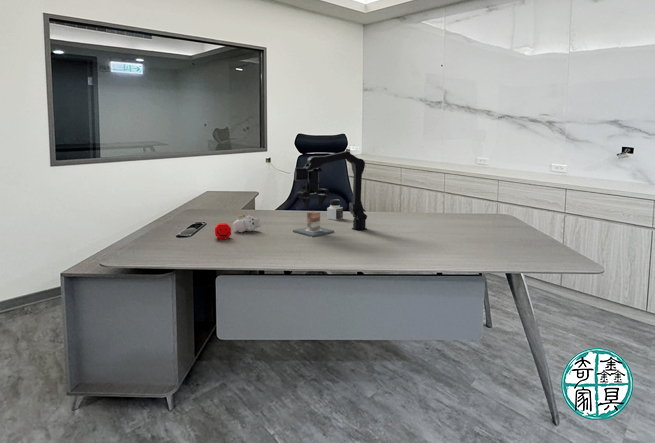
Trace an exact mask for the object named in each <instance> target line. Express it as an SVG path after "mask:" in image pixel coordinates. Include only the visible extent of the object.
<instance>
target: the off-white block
mask: <svg viewBox="0 0 655 443" xmlns="http://www.w3.org/2000/svg"><path fill="white" fill-rule="evenodd" d="M306 227H307V230H309V231H318V230H320V227H321V220H320V221H319V222H309V221H307V220H306Z"/></svg>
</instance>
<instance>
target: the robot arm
mask: <svg viewBox="0 0 655 443" xmlns="http://www.w3.org/2000/svg"><path fill="white" fill-rule="evenodd" d="M343 160H345V161H347V162H348V163H349V164H351V166H350V167H351V171H352V173H353V178H352V179H353V182H352V183H353V184H352V185H353V186H352V189H353V190H352V201H351V202H349V203H348V206H349V207H348V211H349V212H350V214H351V215H352V216H353V223H352V226H353V227H351V230H355V231H360V232H361V231H365V230H368V228H367V227H366V225H367V224H366V220H367V219H368V215H367V214H366V213H365V212H364V206H363V203H362V181H363V179H362V178H363V173H364V171H365V166H366V161H365V160H364V159H362V158H358V157H356V156H355V155H353V154H352V153H351V152H350V151H346V150H343V151H341V152H336V153H333V154H327V155H313V156H309V157H308V158H307V160H306V164H305V165H304V166H303V167H295V168H294V172H293V178H294V179H293V180H294V181H298V182H299V181H306V184H304V183H301V184H299V185H298V192H297V194H296V197H298V198H299V199H301V201H303V204H304V207H305V210H307V211H308V210H309V207H310V201H311V197H310V196H314V195H316V196H317V198H318V208H319V209H321V208H322V207H323V204H324V202H325V201H326V198H327V197H328V195H330V190H329V189H328V188H320V185H321V182H320V173H322V172H323V171H324V170H323V169H321V167H322V166H323V165H326V164H328V163H332V162H337V161H343ZM307 179H308V181H307Z"/></svg>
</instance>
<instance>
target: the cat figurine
mask: <svg viewBox="0 0 655 443" xmlns="http://www.w3.org/2000/svg"><path fill="white" fill-rule="evenodd" d="M236 218H237V219H236V220H235V221H234V222H233V223H232V228H233V229H234V230H235V231H236V232H238V233H239V232H241V233H244V232H252V231H254V230H256V229H257V228H260V227H261V224H259V223H260V218H255V217H253V216H252V215H247V216H246V215H245V214H240V215H238V216H236Z"/></svg>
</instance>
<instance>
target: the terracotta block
mask: <svg viewBox="0 0 655 443" xmlns="http://www.w3.org/2000/svg"><path fill="white" fill-rule="evenodd" d="M307 221H309V222H319V221H320V222H321V212H320V211H315V210H311V211H307V212H306V222H307Z"/></svg>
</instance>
